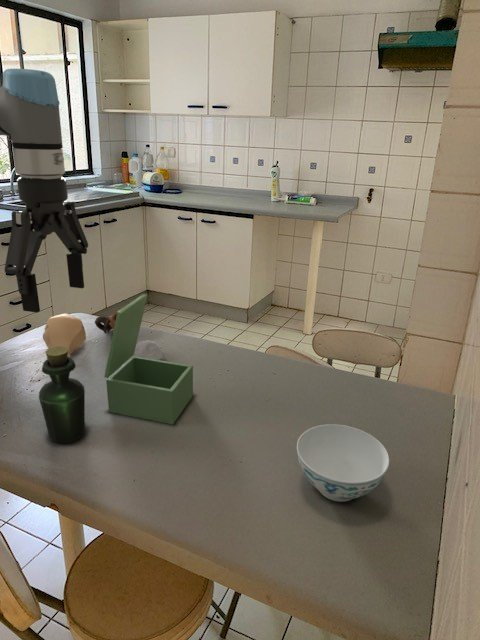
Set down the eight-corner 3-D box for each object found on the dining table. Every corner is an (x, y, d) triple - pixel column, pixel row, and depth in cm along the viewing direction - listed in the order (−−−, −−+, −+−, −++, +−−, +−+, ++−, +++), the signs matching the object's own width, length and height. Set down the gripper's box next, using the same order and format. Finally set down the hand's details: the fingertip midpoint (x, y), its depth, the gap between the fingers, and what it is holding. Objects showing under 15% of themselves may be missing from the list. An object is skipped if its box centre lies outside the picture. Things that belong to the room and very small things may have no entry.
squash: (86, 336, 133) (88, 309, 129) (82, 378, 116) (85, 348, 112) (45, 333, 129) (47, 305, 125) (35, 376, 113) (37, 344, 109)
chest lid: (147, 294, 99) (144, 293, 99) (120, 313, 88) (117, 311, 88) (134, 354, 105) (130, 353, 105) (107, 378, 95) (104, 377, 95)
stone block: (168, 371, 119) (152, 349, 125) (169, 356, 116) (153, 335, 123) (123, 384, 113) (109, 360, 120) (123, 368, 110) (109, 345, 117)
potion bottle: (74, 450, 86) (63, 364, 79) (35, 442, 88) (22, 357, 81) (96, 425, 93) (89, 344, 86) (61, 418, 95) (50, 339, 88)
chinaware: (293, 455, 87) (296, 420, 84) (374, 462, 86) (380, 428, 83) (293, 516, 73) (297, 477, 70) (390, 526, 72) (398, 487, 69)
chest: (192, 396, 105) (192, 365, 102) (172, 424, 94) (172, 391, 92) (134, 385, 108) (132, 355, 105) (108, 412, 98) (106, 379, 95)
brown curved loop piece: (134, 327, 141) (140, 309, 135) (133, 352, 134) (140, 334, 129) (93, 321, 136) (98, 302, 131) (90, 346, 130) (96, 327, 125)
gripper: (8, 185, 64) (29, 326, 72) (101, 172, 86) (109, 281, 94) (-38, 181, 65) (-13, 320, 73) (65, 170, 88) (76, 277, 96)
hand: (56, 298), depth 84 cm, fingers open, 13 cm apart
